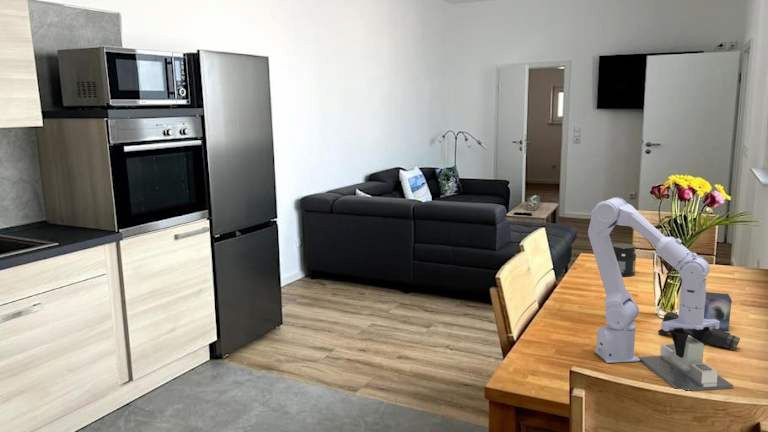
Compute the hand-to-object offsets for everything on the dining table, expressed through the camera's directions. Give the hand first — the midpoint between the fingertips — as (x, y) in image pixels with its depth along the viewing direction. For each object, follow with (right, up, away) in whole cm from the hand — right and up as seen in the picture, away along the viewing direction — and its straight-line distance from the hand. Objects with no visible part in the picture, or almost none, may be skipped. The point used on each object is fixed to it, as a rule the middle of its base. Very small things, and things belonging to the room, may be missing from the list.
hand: (687, 355), depth 153 cm
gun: (+14, -2, +22) cm, 26 cm away
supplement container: (+21, +12, +96) cm, 99 cm away
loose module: (0, -2, 0) cm, 2 cm away
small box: (+24, +1, +34) cm, 41 cm away
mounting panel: (-1, -5, +1) cm, 5 cm away
